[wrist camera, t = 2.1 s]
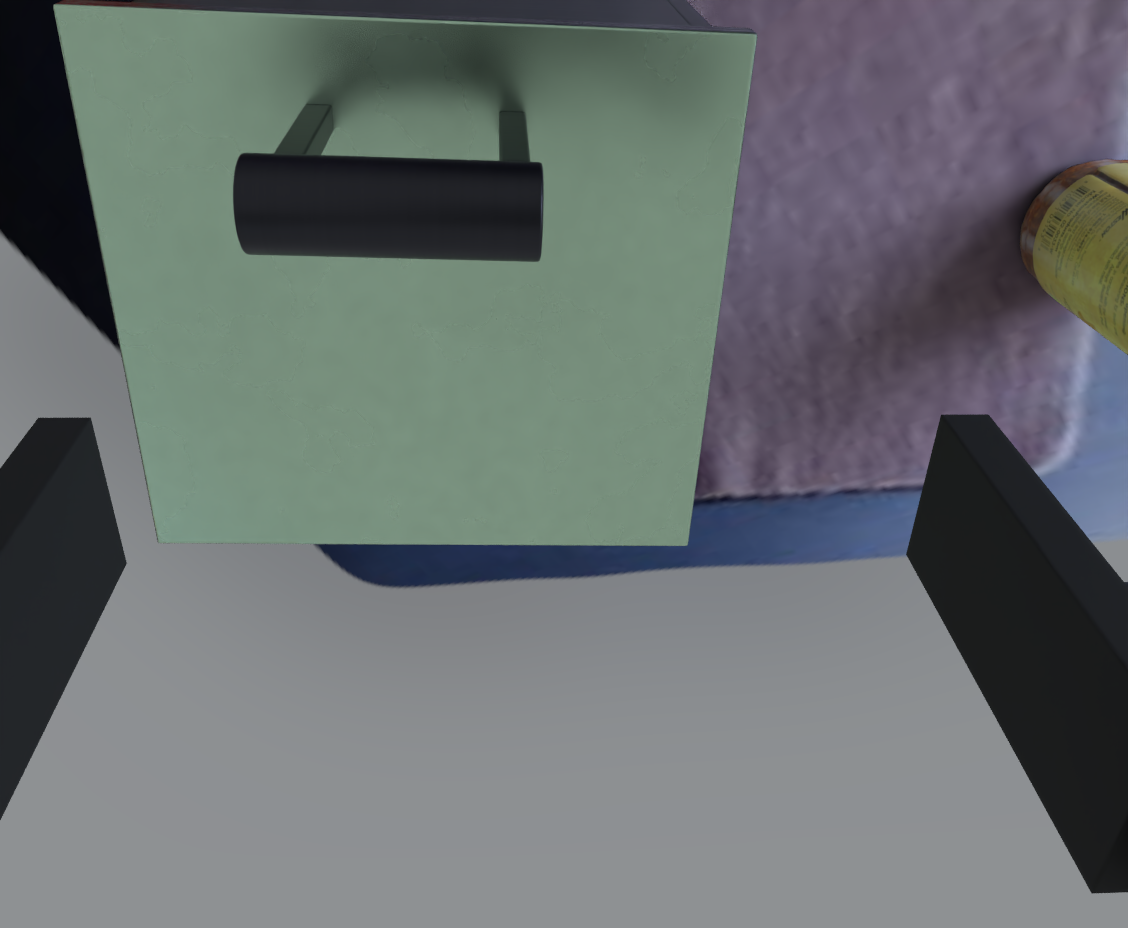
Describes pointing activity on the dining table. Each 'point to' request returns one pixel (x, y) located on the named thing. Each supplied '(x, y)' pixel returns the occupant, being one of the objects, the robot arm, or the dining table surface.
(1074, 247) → the sauce bottle
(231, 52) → the lid
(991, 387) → the dining table surface
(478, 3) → the bin
